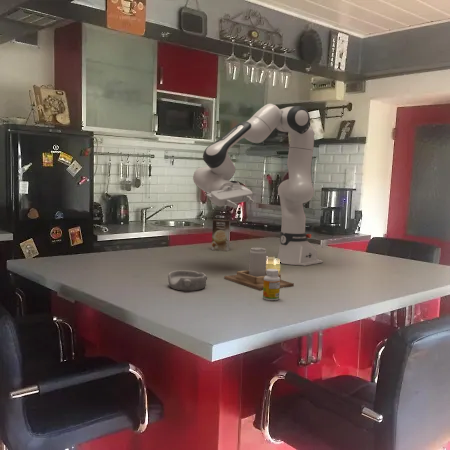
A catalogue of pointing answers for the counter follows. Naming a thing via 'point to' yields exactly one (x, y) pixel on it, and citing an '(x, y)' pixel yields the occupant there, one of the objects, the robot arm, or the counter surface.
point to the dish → (187, 280)
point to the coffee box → (220, 234)
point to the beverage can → (257, 262)
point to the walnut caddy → (253, 280)
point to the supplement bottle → (271, 285)
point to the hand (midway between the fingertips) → (244, 204)
